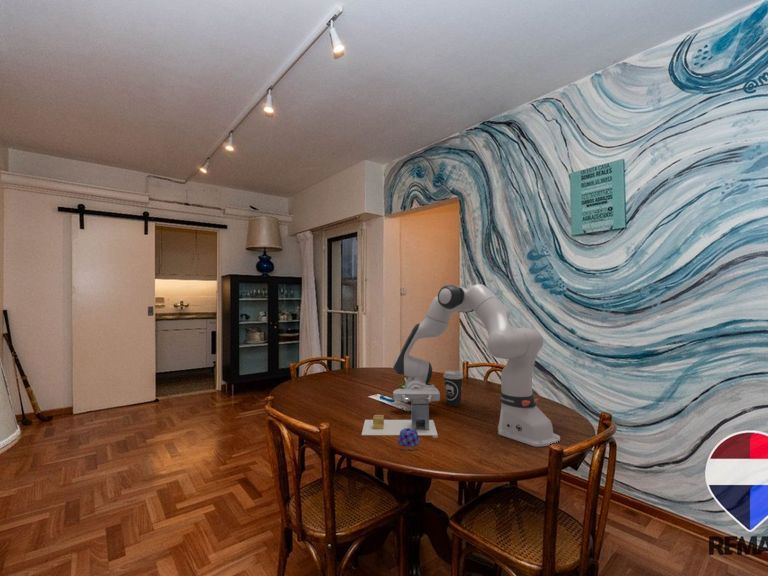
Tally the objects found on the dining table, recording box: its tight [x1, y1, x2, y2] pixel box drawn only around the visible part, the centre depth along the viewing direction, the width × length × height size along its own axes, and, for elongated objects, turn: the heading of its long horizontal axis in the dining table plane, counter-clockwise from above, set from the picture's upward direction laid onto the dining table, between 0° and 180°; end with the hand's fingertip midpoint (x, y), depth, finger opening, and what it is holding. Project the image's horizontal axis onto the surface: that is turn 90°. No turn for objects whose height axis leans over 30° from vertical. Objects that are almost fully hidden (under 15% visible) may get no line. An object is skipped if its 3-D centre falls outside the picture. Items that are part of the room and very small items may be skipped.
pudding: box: [397, 428, 421, 452], centre depth 126 cm, size 12×12×5 cm
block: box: [372, 414, 385, 429], centre depth 140 cm, size 4×4×4 cm
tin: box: [410, 399, 430, 430], centre depth 140 cm, size 6×6×10 cm
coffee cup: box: [442, 370, 464, 407], centre depth 171 cm, size 10×10×15 cm
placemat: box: [361, 419, 439, 439], centre depth 140 cm, size 28×16×1 cm, turn 88°
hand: (417, 400), depth 150 cm, fingers open, 8 cm apart
